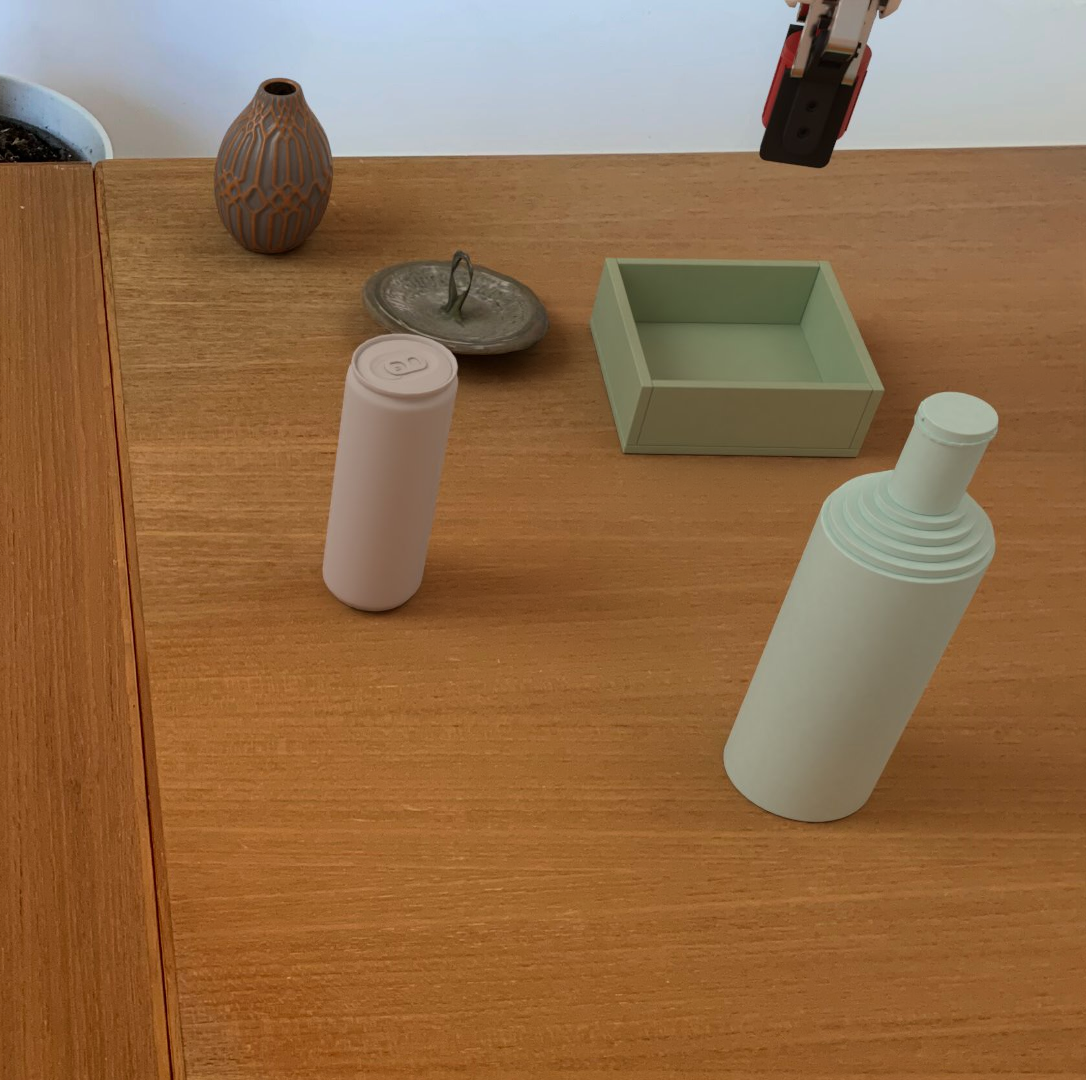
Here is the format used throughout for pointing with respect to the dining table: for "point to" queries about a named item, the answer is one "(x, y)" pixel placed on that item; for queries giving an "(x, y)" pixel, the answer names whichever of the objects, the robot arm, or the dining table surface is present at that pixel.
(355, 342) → the dining table surface
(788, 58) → the cap
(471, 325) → the lid
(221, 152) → the vase
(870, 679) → the bottle
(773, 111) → the robot arm
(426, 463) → the beverage can
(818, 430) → the bin
